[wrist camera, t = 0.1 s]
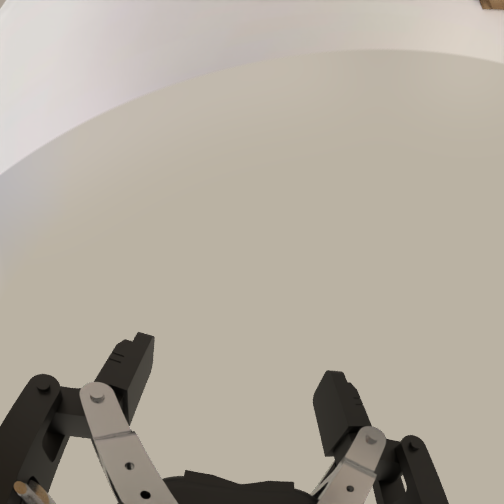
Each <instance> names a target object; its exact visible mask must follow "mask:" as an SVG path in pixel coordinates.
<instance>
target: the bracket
mask: <svg viewBox="0 0 504 504" xmlns="http://www.w3.org/2000/svg"><path fill="white" fill-rule="evenodd" d="M479 1H480V3H481V6H482V8H483V9H502V10H504V0H479Z"/></svg>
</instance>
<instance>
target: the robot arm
mask: <svg viewBox="0 0 504 504" xmlns="http://www.w3.org/2000/svg"><path fill="white" fill-rule="evenodd" d="M153 352H154V336H151V335H147V334H144V333H140V332H138V333H137V335H136V337H135V338H134V340H133V342H132V341H129V340H123V341H122V342H120V343H118V344H117V345H116V347H115V348H114V350H113V351H112V353H111V355H110V356H109V358H108V359H107V361H106V363H105V364H104V366H103V368H102V369H101V371H100V373H99V374H98V376H97V378H96V379H95V381H94V382H90V383H87V384H85V385H84V386H83V387H82V388H79V389H76V388H67V387H61V386H60V384H59V382H58V381H57V380H56V379H55V378H54V377H52V376H50V375H46V374H40V375H36V376H34V377H32V378H31V379H30V381H29V382H28V384H27V385H26V386H25V388H24V389H23V391H22V393H21V394H20V396H19V397H18V399H17V400H16V402H15V403H14V405H13V406H12V408H11V410H10V411H9V413H8V414H7V416H6V418H5V420H4V421H3V423H2V424H1V426H0V504H56V503H55V502H54V500H53V499H52V498H51V497H50V496H49V495H48V492H49V489H50V486H51V483H52V480H53V478H54V475H55V472H56V470H57V467H58V464H59V462H60V459H61V457H62V454H63V452H64V449H65V447H66V444H67V442H68V440H69V437H70V436H74V437H82V438H91V441H92V444H93V446H94V449H95V452H96V454H97V457H98V459H99V461H100V464H101V466H102V468H103V471H104V473H105V476H106V478H107V480H108V482H109V485H110V487H111V489H112V491H113V493H114V495H115V497H116V499H117V501H118V504H364V502H365V500H366V498H367V496H368V494H369V492H370V490H371V487H372V485H373V489H374V493H375V497H376V502H377V504H449V503H448V500H447V498H446V495H445V492H444V490H443V487H442V485H441V482H440V479H439V477H438V475H437V472H436V469H435V467H434V465H433V463H432V460H431V458H430V455H429V453H428V450H427V448H426V446H425V444H424V442H423V441H422V440H421V439H420V438H418V437H416V436H413V435H408V436H405V437H404V438H403V439H402V440H401V441H400V442H399V441H393V440H389V439H386V437H385V435H384V433H383V432H382V431H381V430H379V429H377V428H375V427H372V426H371V423H370V421H369V418H368V416H367V413H366V411H365V408H364V406H363V403H362V401H361V399H360V396H359V394H358V391H357V389H356V388H355V387H354V386H353V385H352V384H351V383H348V382H347V380H346V378H345V375H344V373H343V372H338V371H329V370H328V371H326V372H325V374H324V376H323V378H322V380H321V382H320V383H319V386H318V387H317V389H316V391H315V393H314V397H313V406H314V410H315V414H316V419H317V423H318V427H319V431H320V436H321V441H322V445H323V449H324V454H325V457H326V456H334V458H335V461H334V462H333V463H332V464H331V466H330V467H329V469H328V471H327V472H326V474H325V475H324V477H323V478H322V479H321V481H320V482H319V484H318V485H317V487H316V488H315V489H314V490H313V492H312V493H311V494H308V493H306V492H304V491H301V490H298V489H294V482H280V481H265V482H258V483H251V484H237V483H234V482H231V481H228V480H225V479H223V478H220V477H217V476H214V475H210V474H204V473H198V472H193V471H188V470H185V474H184V476H176V477H168V478H164V479H162V478H161V477H160V475H159V473H158V472H157V470H156V468H155V466H154V465H153V463H152V461H151V460H150V458H149V456H148V454H147V452H146V451H145V449H144V447H143V445H142V443H141V441H140V439H139V437H138V436H137V434H136V433H135V432H134V431H133V432H132V431H131V429H130V427H129V426H130V423H131V421H132V418H133V416H134V413H135V411H136V408H137V405H138V403H139V400H140V398H141V395H142V393H143V390H144V387H145V385H146V383H147V380H148V378H149V375H150V373H151V369H152V364H153ZM402 475H403V476H404V479H405V482H406V485H407V491H406V492H405V489H404V486H403V483H402V479H401V476H402Z"/></svg>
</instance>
